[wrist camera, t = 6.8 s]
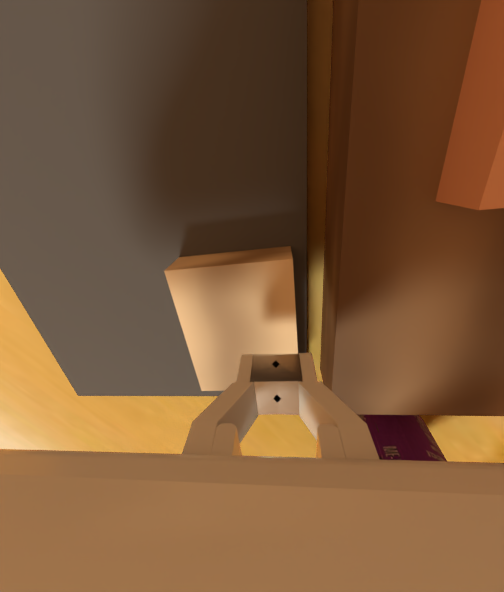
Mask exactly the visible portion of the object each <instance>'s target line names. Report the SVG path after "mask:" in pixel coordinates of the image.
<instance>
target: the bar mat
mask: <svg viewBox="0 0 504 592" xmlns="http://www.w3.org/2000/svg"><path fill="white" fill-rule="evenodd" d="M286 246H291V252H292V257H293V271H294V289H295V308H296V326H297V344H298V353H306V347H307V0H0V269H1V270H2V272H3V273H4V275H5V277H6V278H7V280H8V282H9V283H10V285H11V287H12V288H13V290H14V291H15V293H16V295H17V296H18V298H19V300H20V301H21V303H22V305H23V306H24V308H25V310H26V311H27V313H28V314H29V316H30V318H31V319H32V321H33V323H34V324H35V326H36V328H37V329H38V331H39V332H40V334H41V336H42V337H43V339H44V341H45V342H46V344H47V346H48V347H49V349H50V350H51V352H52V354H53V355H54V357H55V359H56V360H57V362H58V364H59V365H60V367H61V369H62V370H63V372H64V373H65V375H66V377H67V378H68V380H69V382H70V383H71V385H72V387H73V388H74V390H75V391H76V393H77V395H78V396H219V395H220V394H221V393H223V392H224V391H201V387H200V384H199V381H198V378H197V375H196V371H195V368H194V365H193V362H192V359H191V355H190V352H189V349H188V346H187V343H186V339H185V336H184V333H183V330H182V327H181V324H180V320H179V317H178V314H177V311H176V308H175V304H174V301H173V298H172V295H171V292H170V288H169V285H168V282H167V279H166V276H165V272H164V270H166V269H167V268H168V267H169V266H170V265H171V264H172V263H173V262H174V261H175V260H177V259H178V258H179V257H186V256H196V255H206V254H216V253H226V252H236V251H246V250H256V249H266V248H276V247H286Z"/></svg>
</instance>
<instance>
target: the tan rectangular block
mask: <svg viewBox="0 0 504 592" xmlns="http://www.w3.org/2000/svg"><path fill="white" fill-rule="evenodd" d="M164 272H165V276H166V279H167V282H168V285H169V288H170V292H171V295H172V298H173V301H174V304H175V308H176V311H177V314H178V317H179V320H180V324H181V327H182V330H183V333H184V336H185V339H186V343H187V346H188V349H189V352H190V355H191V359H192V362H193V365H194V368H195V371H196V375H197V378H198V381H199V384H200V387H201V391H225V390H226V389H227V388H228V387H229V386H230V385H231V384H232V383H233V382H236V380H237V375H238V369H239V364H240V359H241V355H242V354H294V353H298V344H297V326H296V308H295V289H294V271H293V257H292V252H291V246H286V247H276V248H266V249H256V250H246V251H236V252H226V253H216V254H206V255H196V256H186V257H179V258H178V259H177V260H175V261H174V262H173V263H172V264H171V265H170V266H169V267H168V268H167V269H166V270H164Z"/></svg>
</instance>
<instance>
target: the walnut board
mask: <svg viewBox="0 0 504 592" xmlns="http://www.w3.org/2000/svg"><path fill="white" fill-rule="evenodd" d="M480 4H481V0H334V2H333V29H332V57H331V85H330V113H329V140H328V168H327V196H326V224H325V251H324V279H323V307H322V335H321V362H320V370H321V374H322V379H323V384H324V385H325V386H326V387H327V388H328V389H330V390H331V391H332V392H333V393H334V394H335V395H336V396H337V397H338V398H339V399H340V400H341V401H342V402H344V403H345V404H346V405H347V406H348V407H349V408H350V409H351V410H352V411H353V412H354V413H355V414H367V415H455V416H504V208H498V209H486V210H475V209H470V208H465V207H461V206H456V205H451V204H446V203H441V202H436V197H437V192H438V188H439V183H440V179H441V175H442V170H443V166H444V162H445V157H446V153H447V148H448V144H449V140H450V135H451V131H452V127H453V122H454V118H455V113H456V109H457V105H458V100H459V96H460V91H461V87H462V83H463V78H464V74H465V70H466V65H467V61H468V56H469V52H470V48H471V43H472V39H473V35H474V30H475V26H476V21H477V17H478V13H479V8H480Z"/></svg>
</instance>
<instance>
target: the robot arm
mask: <svg viewBox="0 0 504 592" xmlns="http://www.w3.org/2000/svg"><path fill="white" fill-rule="evenodd" d="M261 414H289V415H300V417H301V419H302V420H303V422H304V423H305V424H306V426H307V427H308V429H309V430H310V431H311V433H312V434H313V436H314V437H315V439H316V440H317V453H316V458H300V457H265V456H242V454H241V449H240V442H241V441H242V439H243V438H244V436H245V435H246V433H247V432H248V430H249V429H250V427H251V426H252V424H253V423H254V421H255V420H256V418H257V417H258V415H261ZM0 592H504V463H481V462H446V461H411V460H380V459H379V456H378V454H377V451H376V448H375V445H374V443H373V440H372V437H371V434H370V432H369V429H368V426H367V424H366V423H365V422H364V421H363V420H362V419H361V418H360V417H359V416H358V415H356V414H355V413H354V412H353V411H352V410H351V409H350V408H349V407H348V406H347V405H346V404H345V403H344V402H342V401H341V400H340V399H339V398H338V397H337V396H336V395H335V394H334V393H333V392H332V391H331V390H330V389H328V388H327V387H326V386H325V385H324V384H323V383H322V382H317V377H316V372H315V367H314V362H313V358H312V354H311V353H294V354H242V355H241V359H240V364H239V369H238V375H237V380H236V382H233V383H232V384H231V385H230V386H229V387H228V388H227V389H226V390H225V391H224V392H223V393H221V394H220V395H219V396H218V397H217V398H216V399H215V400H214V401H213V402H212V403H211V404H210V405H209V406H208V407H207V408H206V409H205V410H204V411H203V412H202V413H201V414H200V415H199V416H198V417H197V418H196V419H195V420H194V421H193V422H192V425H191V428H190V431H189V434H188V437H187V440H186V443H185V446H184V449H183V452H182V454H159V453H123V452H87V451H51V450H15V449H0Z"/></svg>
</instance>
